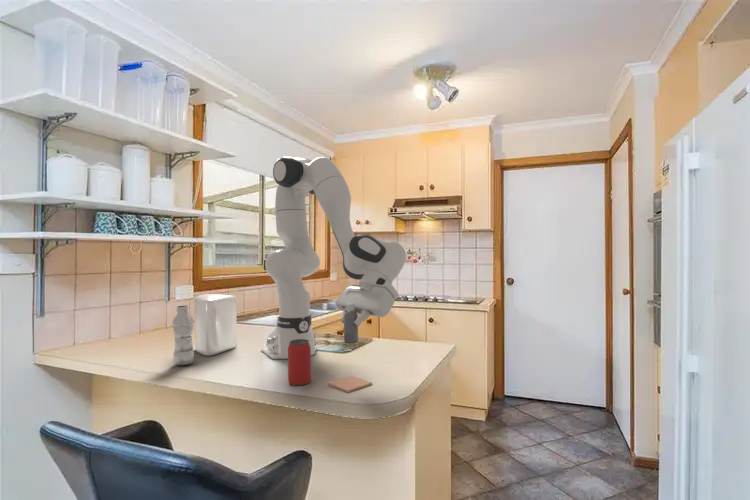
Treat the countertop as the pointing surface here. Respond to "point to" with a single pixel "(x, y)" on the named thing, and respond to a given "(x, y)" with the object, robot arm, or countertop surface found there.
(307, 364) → the beer can
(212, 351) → the white rounded block
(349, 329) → the grey pump bottle
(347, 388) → the tile
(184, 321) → the plastic bottle
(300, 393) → the countertop surface
